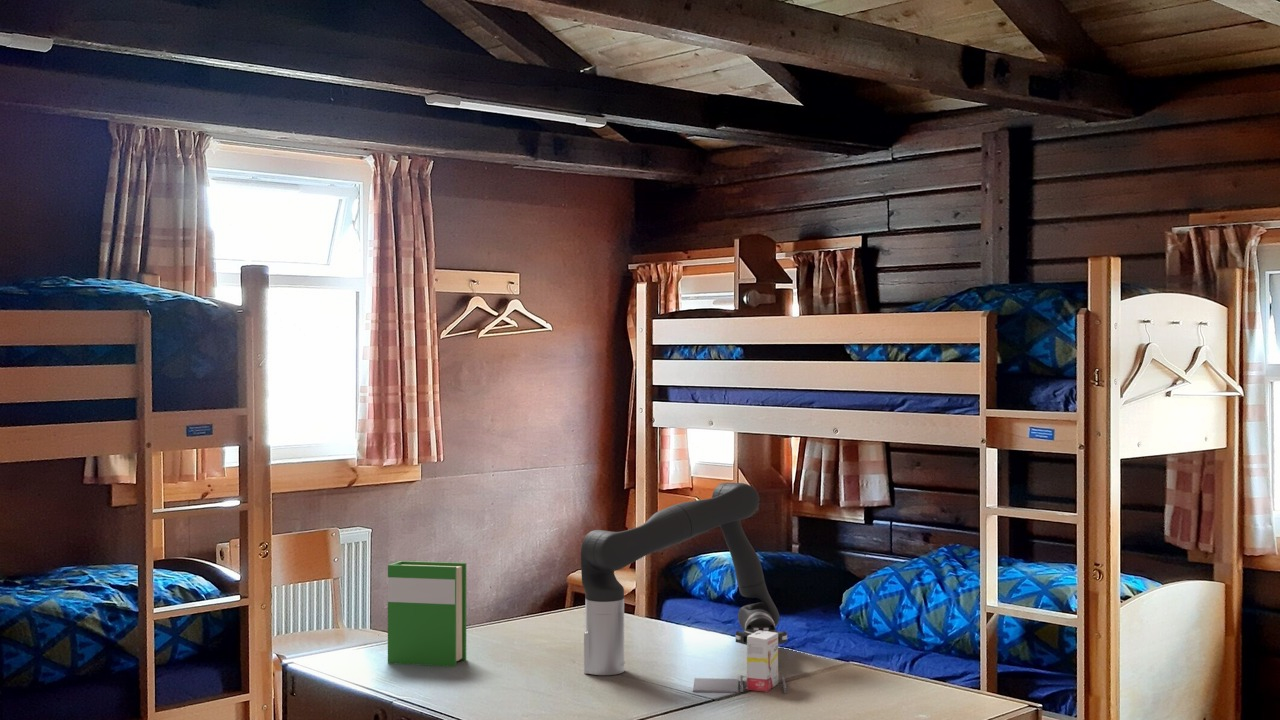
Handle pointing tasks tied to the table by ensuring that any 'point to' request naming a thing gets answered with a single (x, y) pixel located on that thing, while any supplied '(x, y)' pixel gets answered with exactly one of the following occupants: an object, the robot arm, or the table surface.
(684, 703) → the table surface
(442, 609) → the hardback book
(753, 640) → the ink box
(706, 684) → the grey flat slab
